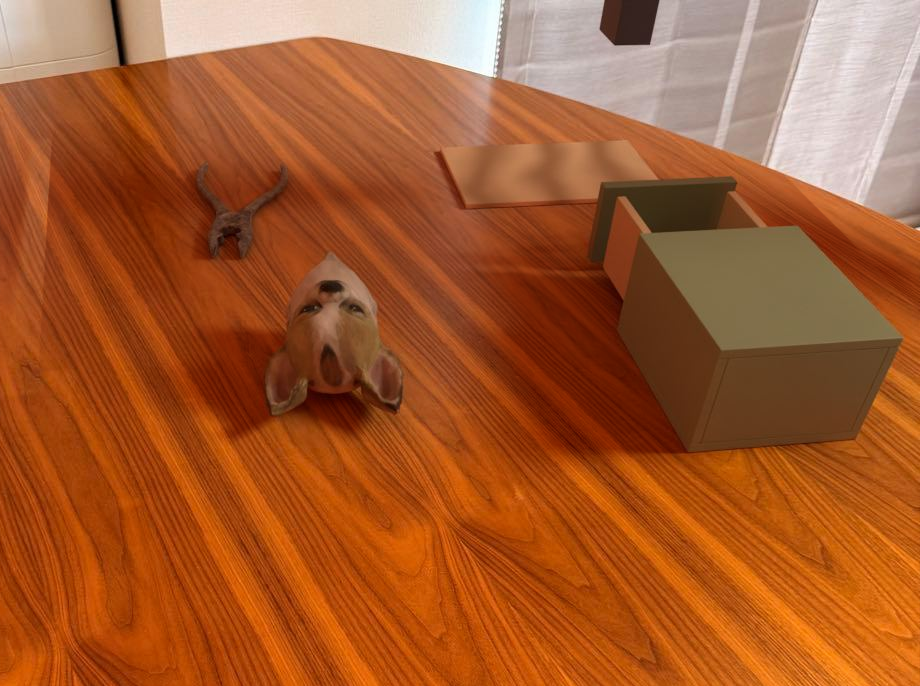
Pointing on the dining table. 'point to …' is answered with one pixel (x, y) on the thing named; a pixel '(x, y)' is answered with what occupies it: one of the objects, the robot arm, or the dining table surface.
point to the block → (629, 21)
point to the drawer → (660, 216)
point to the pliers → (234, 214)
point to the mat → (541, 172)
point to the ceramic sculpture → (332, 344)
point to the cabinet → (753, 338)
